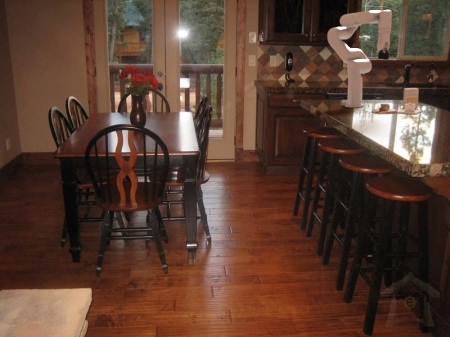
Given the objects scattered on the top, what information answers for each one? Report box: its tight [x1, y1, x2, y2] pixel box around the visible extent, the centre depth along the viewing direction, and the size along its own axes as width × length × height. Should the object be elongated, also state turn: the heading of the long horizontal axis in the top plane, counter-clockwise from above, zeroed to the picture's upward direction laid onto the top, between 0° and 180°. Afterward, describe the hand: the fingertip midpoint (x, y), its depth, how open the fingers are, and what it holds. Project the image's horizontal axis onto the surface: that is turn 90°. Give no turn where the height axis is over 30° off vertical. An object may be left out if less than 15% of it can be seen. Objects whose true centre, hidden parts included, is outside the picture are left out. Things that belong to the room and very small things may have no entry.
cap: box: [405, 103, 416, 112], centre depth 287 cm, size 6×6×5 cm
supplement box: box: [402, 87, 420, 109], centre depth 301 cm, size 8×5×13 cm, turn 84°
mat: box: [396, 108, 424, 115], centre depth 288 cm, size 12×12×1 cm
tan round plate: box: [371, 103, 398, 115], centre depth 293 cm, size 15×15×5 cm
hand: (383, 59), depth 293 cm, fingers open, 9 cm apart
